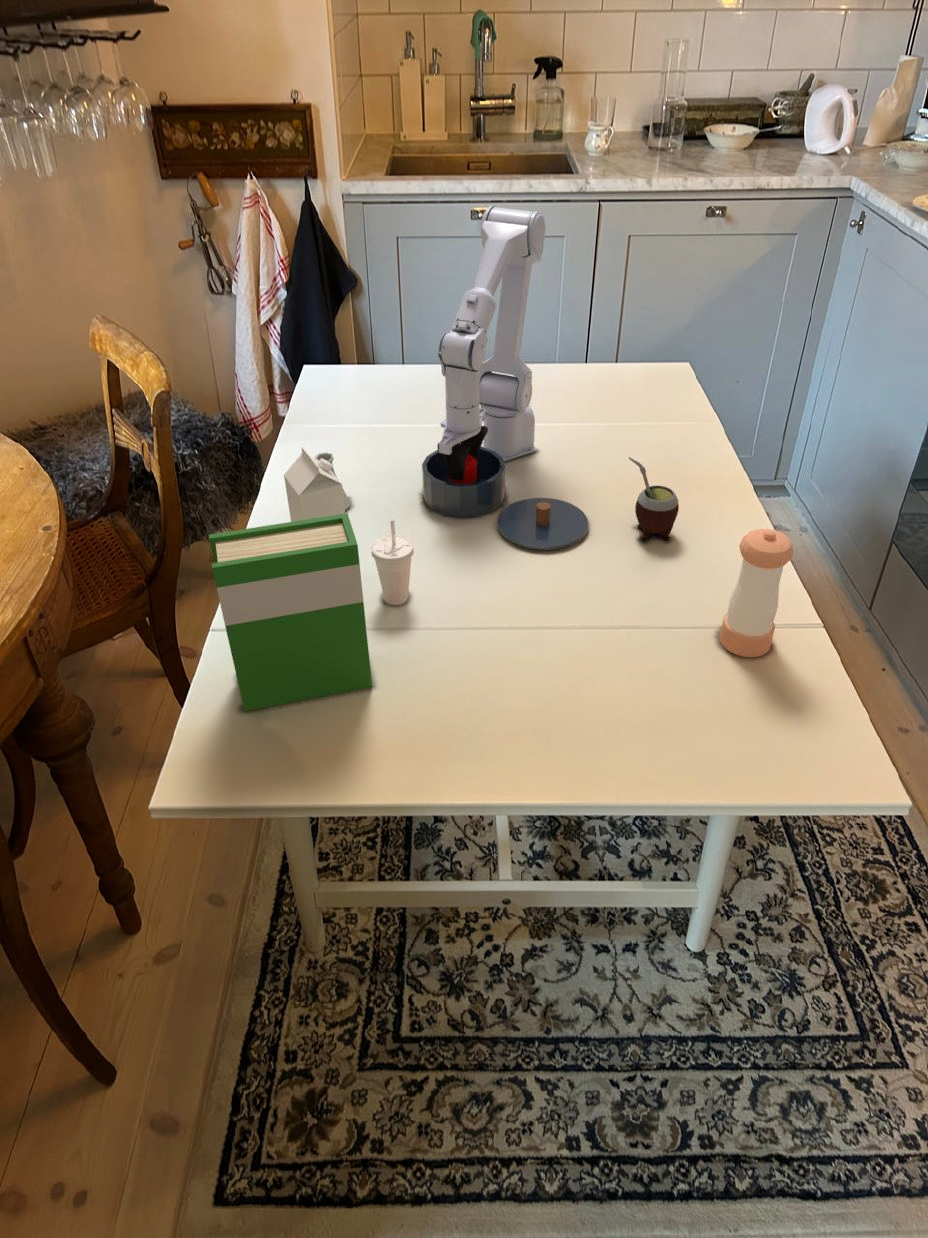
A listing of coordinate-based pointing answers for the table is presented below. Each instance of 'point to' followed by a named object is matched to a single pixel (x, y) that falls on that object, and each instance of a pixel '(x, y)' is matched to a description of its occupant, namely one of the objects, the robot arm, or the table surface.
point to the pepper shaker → (756, 593)
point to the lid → (542, 523)
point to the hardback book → (293, 609)
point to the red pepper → (469, 471)
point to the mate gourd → (655, 509)
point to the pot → (464, 486)
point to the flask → (330, 458)
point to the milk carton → (313, 489)
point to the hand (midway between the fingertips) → (463, 472)
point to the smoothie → (393, 565)
